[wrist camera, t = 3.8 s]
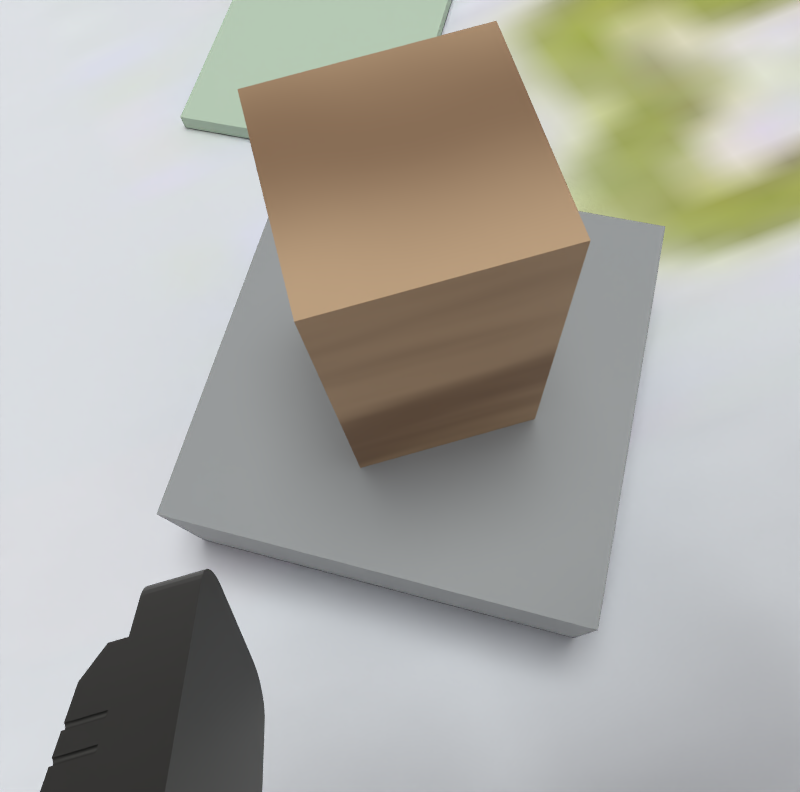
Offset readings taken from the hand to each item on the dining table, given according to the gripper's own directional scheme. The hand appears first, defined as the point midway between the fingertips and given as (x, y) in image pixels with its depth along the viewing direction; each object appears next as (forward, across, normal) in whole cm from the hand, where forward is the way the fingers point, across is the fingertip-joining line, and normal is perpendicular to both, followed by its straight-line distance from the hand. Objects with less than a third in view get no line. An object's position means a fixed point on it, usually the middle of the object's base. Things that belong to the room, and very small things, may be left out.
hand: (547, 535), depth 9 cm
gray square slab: (+15, 0, +5) cm, 16 cm away
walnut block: (+12, 0, +2) cm, 13 cm away
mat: (+27, 0, -6) cm, 27 cm away
